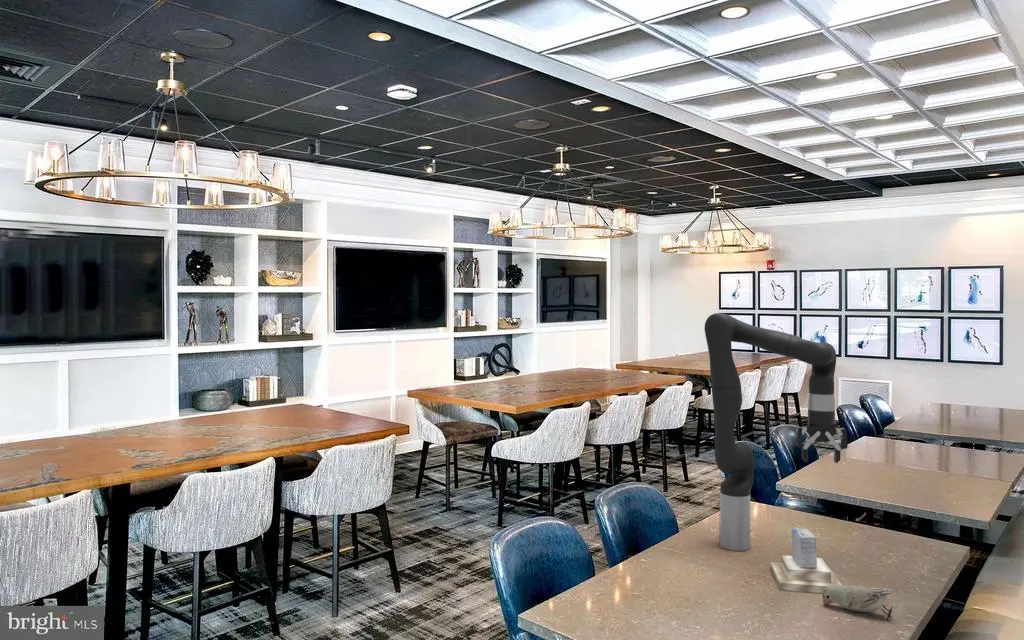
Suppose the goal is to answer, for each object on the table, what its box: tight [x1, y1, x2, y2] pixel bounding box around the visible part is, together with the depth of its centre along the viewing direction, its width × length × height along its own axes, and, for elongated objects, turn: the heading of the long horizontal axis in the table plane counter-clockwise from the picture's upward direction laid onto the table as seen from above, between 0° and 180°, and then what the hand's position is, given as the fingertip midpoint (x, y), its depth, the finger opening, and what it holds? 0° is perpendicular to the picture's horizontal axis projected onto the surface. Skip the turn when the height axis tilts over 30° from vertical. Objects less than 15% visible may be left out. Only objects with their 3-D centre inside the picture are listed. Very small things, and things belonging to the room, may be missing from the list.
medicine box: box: [791, 528, 818, 568], centre depth 196 cm, size 8×4×9 cm, turn 174°
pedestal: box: [770, 555, 842, 594], centre depth 196 cm, size 16×16×5 cm
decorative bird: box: [822, 584, 894, 621], centre depth 176 cm, size 5×16×8 cm, turn 58°
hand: (821, 461), depth 211 cm, fingers open, 8 cm apart
